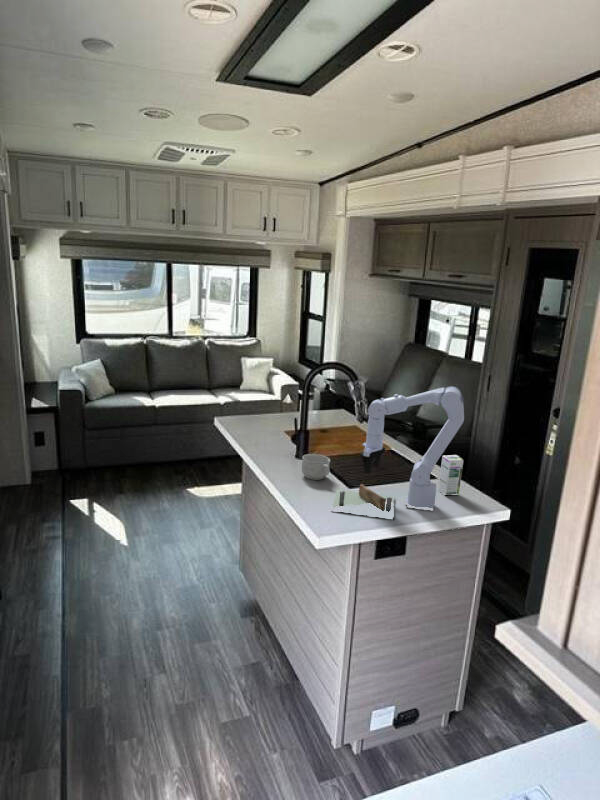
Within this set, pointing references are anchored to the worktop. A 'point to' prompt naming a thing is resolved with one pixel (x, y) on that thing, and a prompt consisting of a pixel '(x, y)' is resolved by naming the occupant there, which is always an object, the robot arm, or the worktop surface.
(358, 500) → the gate mat
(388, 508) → the dark gray metal cylinder
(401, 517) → the worktop surface
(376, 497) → the wooden block
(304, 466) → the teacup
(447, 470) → the syrup box
